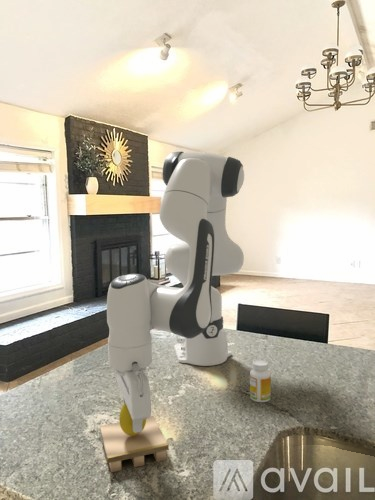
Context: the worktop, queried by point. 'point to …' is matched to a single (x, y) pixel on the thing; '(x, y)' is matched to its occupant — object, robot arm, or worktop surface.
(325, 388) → the worktop surface
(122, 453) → the platform
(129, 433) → the lemon
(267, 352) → the worktop surface
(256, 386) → the supplement bottle
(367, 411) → the worktop surface
